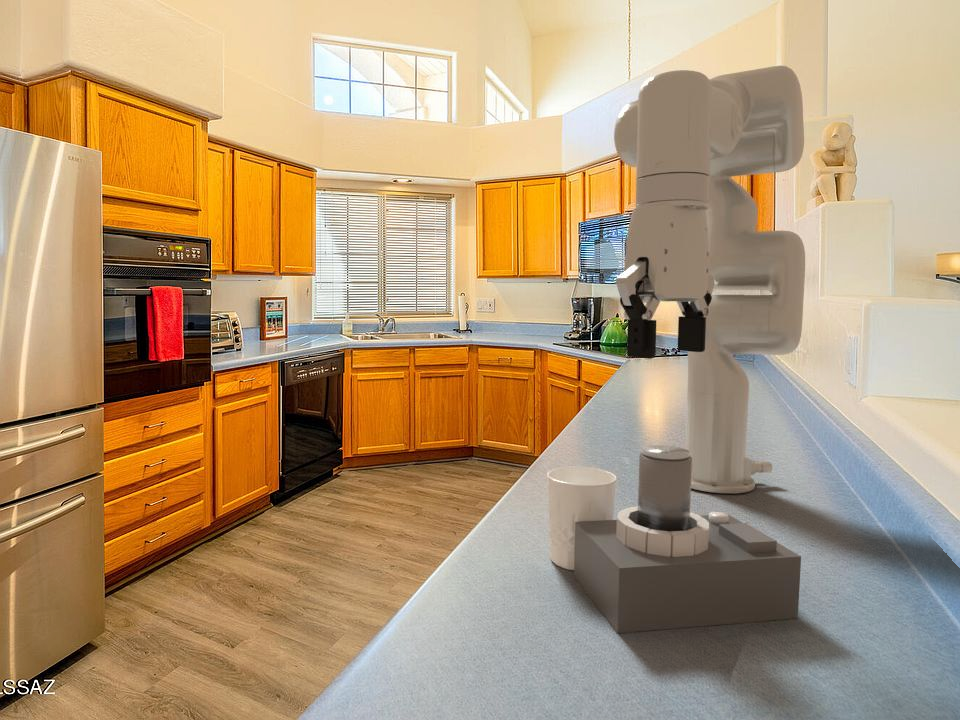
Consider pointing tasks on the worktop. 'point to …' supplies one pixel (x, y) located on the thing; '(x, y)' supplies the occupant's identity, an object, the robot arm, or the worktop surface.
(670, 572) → the camera body
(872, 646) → the worktop surface
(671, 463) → the shiny metal cylinder
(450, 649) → the worktop surface
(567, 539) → the white cup
